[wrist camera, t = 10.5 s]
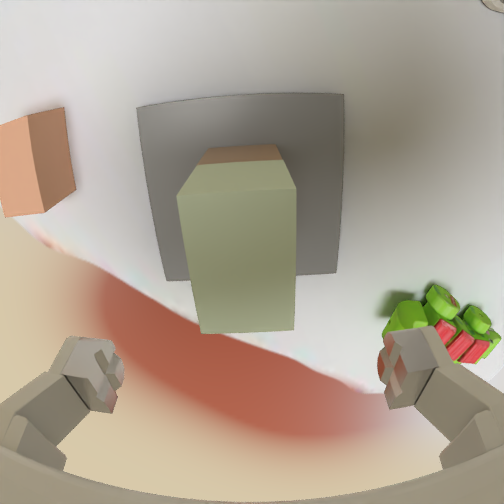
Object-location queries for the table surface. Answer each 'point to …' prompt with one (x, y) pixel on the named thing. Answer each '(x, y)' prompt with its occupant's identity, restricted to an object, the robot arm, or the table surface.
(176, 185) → the base plate
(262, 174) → the sage brick
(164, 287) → the table surface
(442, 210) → the table surface
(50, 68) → the table surface
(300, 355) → the table surface
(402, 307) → the toy crocodile
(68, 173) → the terracotta brick
